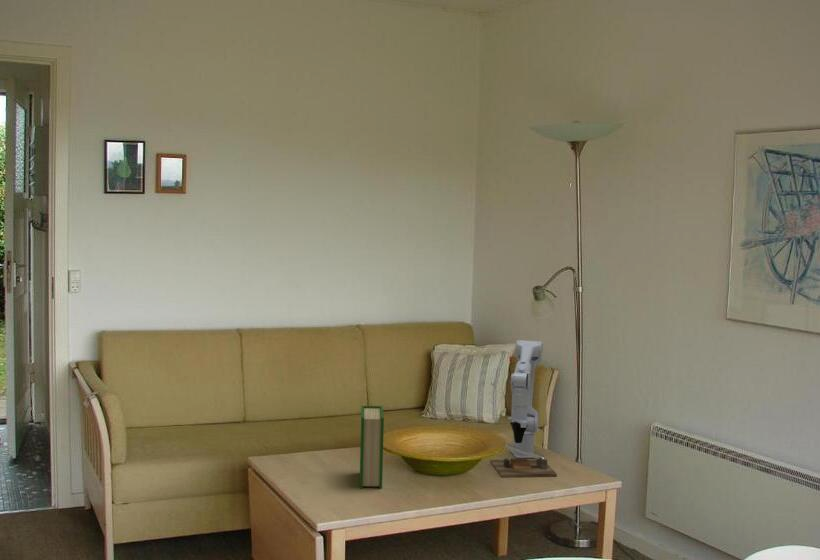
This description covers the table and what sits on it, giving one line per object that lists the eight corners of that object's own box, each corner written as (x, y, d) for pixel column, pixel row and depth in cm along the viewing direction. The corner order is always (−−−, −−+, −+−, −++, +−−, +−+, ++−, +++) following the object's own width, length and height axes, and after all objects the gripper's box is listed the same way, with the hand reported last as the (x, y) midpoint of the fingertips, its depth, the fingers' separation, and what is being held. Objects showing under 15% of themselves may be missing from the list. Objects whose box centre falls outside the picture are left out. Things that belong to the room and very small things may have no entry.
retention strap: (505, 445, 325) (506, 442, 325) (541, 459, 327) (542, 455, 327) (507, 448, 321) (508, 445, 321) (544, 461, 323) (545, 458, 323)
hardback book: (382, 488, 298) (383, 417, 296) (359, 488, 298) (361, 417, 296) (380, 473, 316) (382, 405, 314) (359, 472, 315) (361, 405, 313)
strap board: (490, 462, 332) (490, 450, 332) (542, 462, 334) (543, 450, 334) (501, 477, 314) (501, 464, 314) (556, 476, 317) (557, 464, 316)
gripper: (504, 401, 329) (502, 437, 330) (513, 410, 314) (512, 448, 316) (522, 401, 330) (521, 437, 331) (533, 410, 315) (531, 447, 316)
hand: (518, 442), depth 323 cm, fingers closed
